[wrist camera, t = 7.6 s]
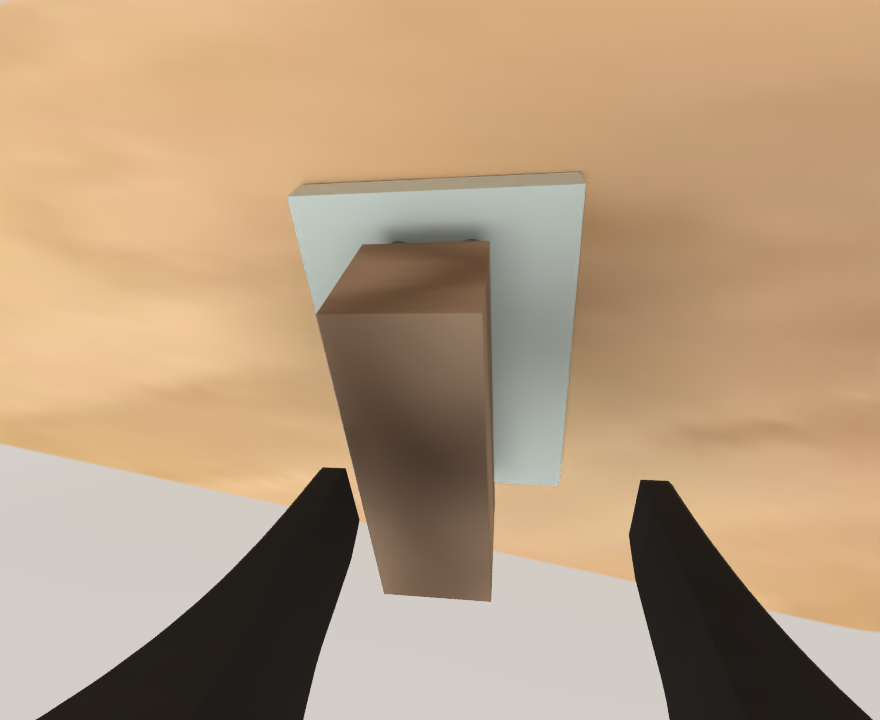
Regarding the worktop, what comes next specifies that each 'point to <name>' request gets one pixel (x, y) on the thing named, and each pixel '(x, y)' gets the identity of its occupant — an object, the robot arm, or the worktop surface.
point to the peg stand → (511, 276)
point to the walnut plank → (419, 409)
